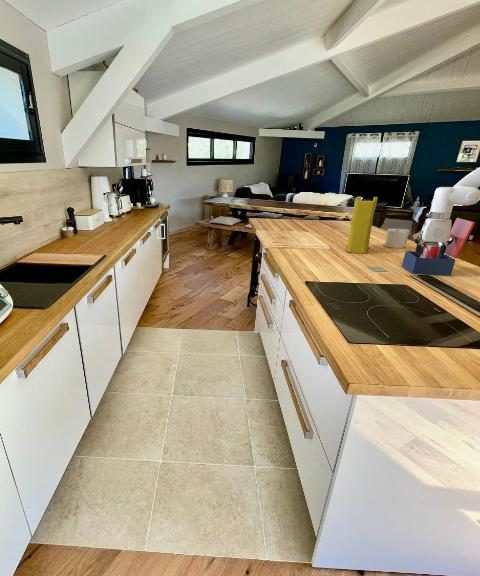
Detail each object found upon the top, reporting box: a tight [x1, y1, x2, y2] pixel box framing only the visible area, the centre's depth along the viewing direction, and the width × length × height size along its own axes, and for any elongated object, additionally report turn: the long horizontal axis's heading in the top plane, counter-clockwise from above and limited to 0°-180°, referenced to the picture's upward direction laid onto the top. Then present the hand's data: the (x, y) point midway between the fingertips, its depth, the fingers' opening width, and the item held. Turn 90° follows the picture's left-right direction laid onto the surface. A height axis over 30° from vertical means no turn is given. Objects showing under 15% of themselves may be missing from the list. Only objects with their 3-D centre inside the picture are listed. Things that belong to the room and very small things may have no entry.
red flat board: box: [445, 217, 476, 260], centre depth 140 cm, size 16×13×1 cm
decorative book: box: [346, 196, 379, 254], centre depth 183 cm, size 20×11×30 cm, turn 149°
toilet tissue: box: [384, 228, 411, 249], centre depth 193 cm, size 11×12×10 cm
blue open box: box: [401, 250, 456, 277], centre depth 147 cm, size 15×13×8 cm
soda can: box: [419, 242, 440, 258], centre depth 146 cm, size 7×7×12 cm
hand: (429, 253), depth 145 cm, fingers open, 9 cm apart
